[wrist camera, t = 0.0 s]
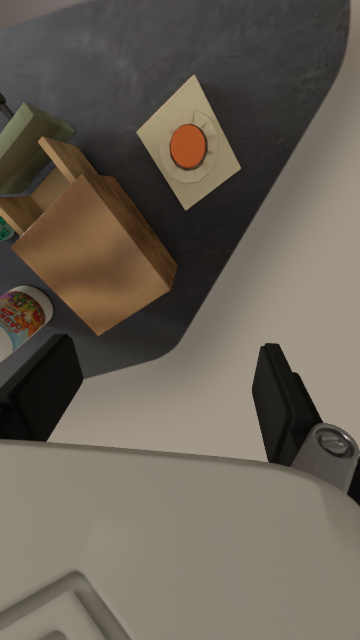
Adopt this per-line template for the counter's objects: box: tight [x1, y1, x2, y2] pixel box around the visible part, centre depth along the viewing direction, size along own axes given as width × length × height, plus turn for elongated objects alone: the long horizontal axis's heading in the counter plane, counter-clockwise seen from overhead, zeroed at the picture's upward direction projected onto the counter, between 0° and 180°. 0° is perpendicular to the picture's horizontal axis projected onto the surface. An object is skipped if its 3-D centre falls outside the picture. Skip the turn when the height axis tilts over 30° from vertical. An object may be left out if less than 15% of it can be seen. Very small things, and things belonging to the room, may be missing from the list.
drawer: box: [0, 93, 98, 236], centre depth 28 cm, size 18×11×8 cm, turn 35°
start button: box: [171, 125, 205, 168], centre depth 25 cm, size 4×4×2 cm
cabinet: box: [11, 174, 178, 336], centre depth 32 cm, size 15×13×10 cm
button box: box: [136, 74, 241, 211], centre depth 27 cm, size 10×8×4 cm
